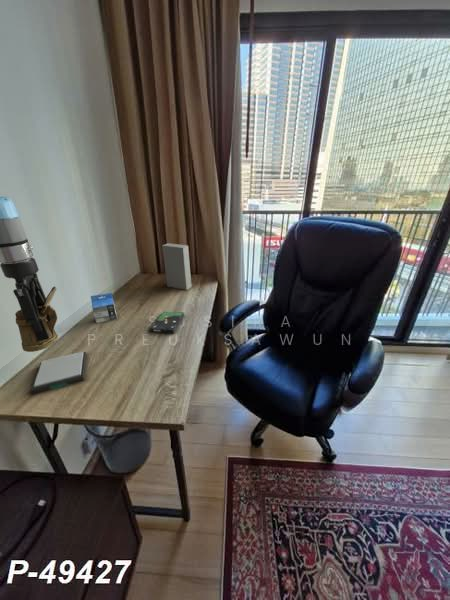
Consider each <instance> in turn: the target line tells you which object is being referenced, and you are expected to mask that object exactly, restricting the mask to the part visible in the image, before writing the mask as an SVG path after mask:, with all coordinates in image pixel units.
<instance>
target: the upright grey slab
mask: <svg viewBox="0 0 450 600" xmlns="http://www.w3.org/2000/svg"><path fill="white" fill-rule="evenodd" d="M161 248H162V255H163V264H164V271H165V279H166V287H168V288H173V289H179V290H185V291H188V290H189V289H191V288H192V287H193V284H192V277H191V265H190V264H191V263H190V262H191V261H190V250H189V245H188V244H187V245H186V244H178V243H168V242H167V243H165V244H162V245H161Z"/></svg>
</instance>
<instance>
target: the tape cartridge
mask: <svg viewBox="0 0 450 600" xmlns="http://www.w3.org/2000/svg"><path fill="white" fill-rule="evenodd" d="M112 293H113V292H109V293H103V294H95V295H90V299H91V308H92V313H93V316H94V319H95V323H97V324H99V323H103V322H109V321H114V320H117V319H118V314H117V311H116V306H115V301H114V298H113V294H112Z"/></svg>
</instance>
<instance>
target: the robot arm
mask: <svg viewBox="0 0 450 600" xmlns="http://www.w3.org/2000/svg"><path fill="white" fill-rule="evenodd" d="M20 216H21V215H20V213H19V212H18V210H17V208H16V206H15V203H14V201H13V200H12V199H11V198H10V197H8V196H0V269H1V271H2V273H3V276H4V277H5V278H7V279H14V281H15V284H14V285H15V289H13V290H12V291H13V294H14V296H15V298H16V299H17V302H18V305H19V307H20V310H22V313H23V315H24V318H25V322H26V323H27V324H29V323H31V325H32V328H33V330H34V332H35V335H36V337H37V339H38V341H41V340H46V339H49V335H48V332H47V330H46V327H45V325H44V322H43V320H42V319H40V316H39V312H38V308H37V307H41V306H42V305H43V303H44V301H45V299H46V297H47V296H46V294H45V292H44V290H43V288H42V285H41V283H40V281H39V277H38V274H37V273H38V272H39V270H40V269H39V267H38V263H37V261H36V259H35V257H33V256H34V253H33V251H32V250H33V249H34V247H33V246H32V245H30V242H29V240H28V238H27V234H26V232H25V229H24V226H23V222H22V220H21V217H20ZM46 319H47V321H50V320H51V317H50V316H49V315H48V314H46Z"/></svg>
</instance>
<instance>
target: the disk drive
mask: <svg viewBox="0 0 450 600" xmlns="http://www.w3.org/2000/svg"><path fill="white" fill-rule="evenodd" d="M184 317H185V313H184V311H165V310H164V311H162V312H161V313H160V314H159V316H158V317H157V318H156V320H155V321H154V323H153V324H151V326H150V333H156V334H157V333H158V334H171V335H172V334H173V335H174V334H175V333H176V331H177V330H178V328H179V326H180V324H181V322H182V320H183V319H184Z"/></svg>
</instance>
